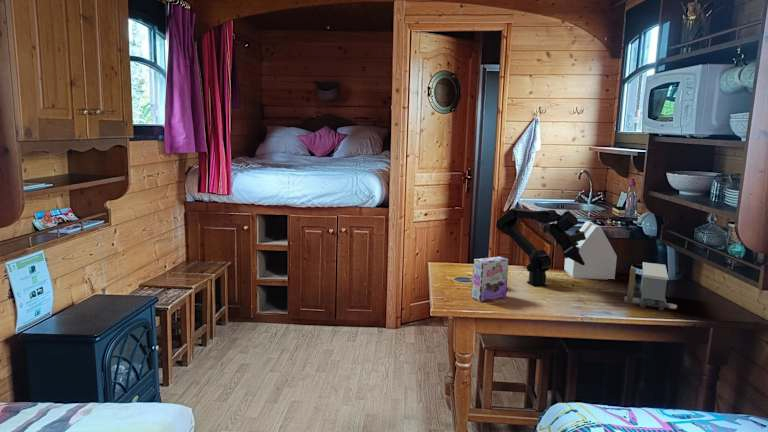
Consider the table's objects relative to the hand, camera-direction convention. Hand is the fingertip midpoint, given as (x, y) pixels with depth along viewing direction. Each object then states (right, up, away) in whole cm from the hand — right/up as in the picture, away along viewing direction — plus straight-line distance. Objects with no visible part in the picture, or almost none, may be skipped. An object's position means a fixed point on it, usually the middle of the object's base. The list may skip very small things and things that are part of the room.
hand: (583, 264), depth 221 cm
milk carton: (+15, -8, +33) cm, 37 cm away
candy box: (-42, -13, -8) cm, 45 cm away
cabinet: (+25, -14, -6) cm, 30 cm away
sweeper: (+21, -15, -9) cm, 27 cm away
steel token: (+30, -16, -13) cm, 36 cm away
